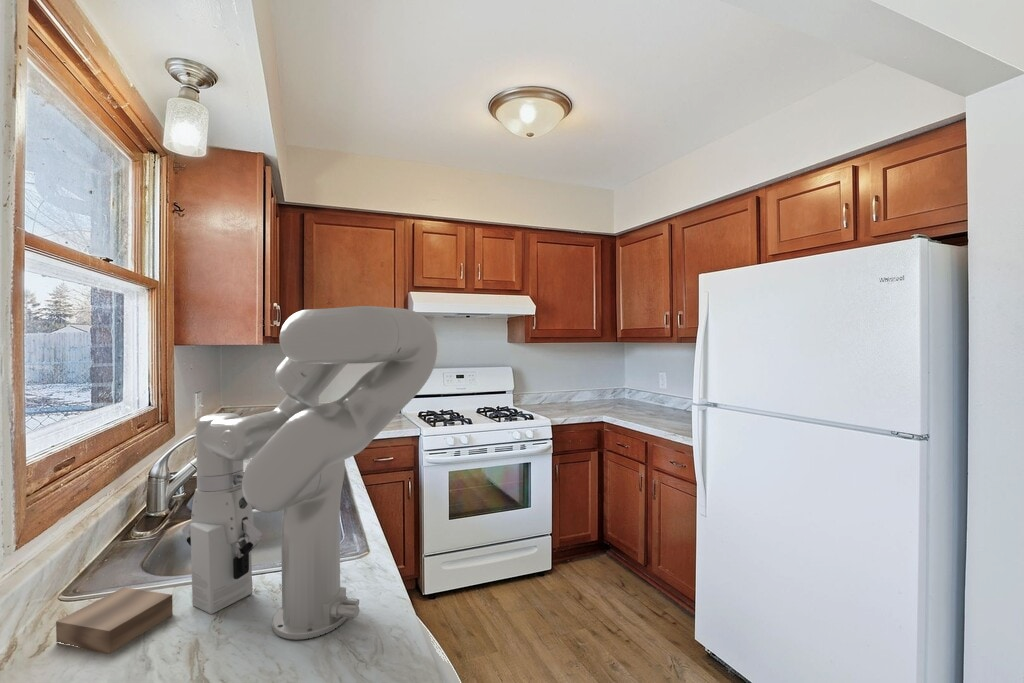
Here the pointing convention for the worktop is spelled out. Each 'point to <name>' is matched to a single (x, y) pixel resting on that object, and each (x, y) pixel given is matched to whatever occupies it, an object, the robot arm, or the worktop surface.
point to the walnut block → (114, 619)
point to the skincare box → (215, 569)
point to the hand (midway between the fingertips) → (222, 572)
